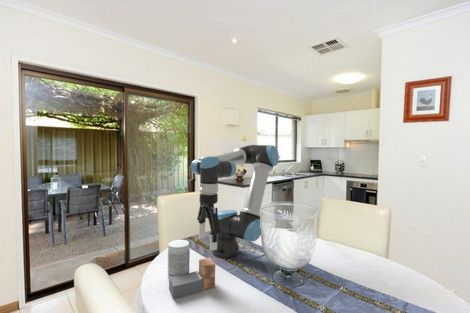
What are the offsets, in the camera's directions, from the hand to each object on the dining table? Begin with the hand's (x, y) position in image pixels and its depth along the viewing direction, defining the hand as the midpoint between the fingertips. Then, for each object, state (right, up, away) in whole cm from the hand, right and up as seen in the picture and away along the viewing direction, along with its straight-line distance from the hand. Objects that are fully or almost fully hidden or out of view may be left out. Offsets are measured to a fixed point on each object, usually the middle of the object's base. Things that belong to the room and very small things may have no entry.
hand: (207, 243), depth 99 cm
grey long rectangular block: (-8, -18, -3) cm, 20 cm away
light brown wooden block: (0, -18, +1) cm, 18 cm away
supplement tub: (-14, -18, +8) cm, 24 cm away
